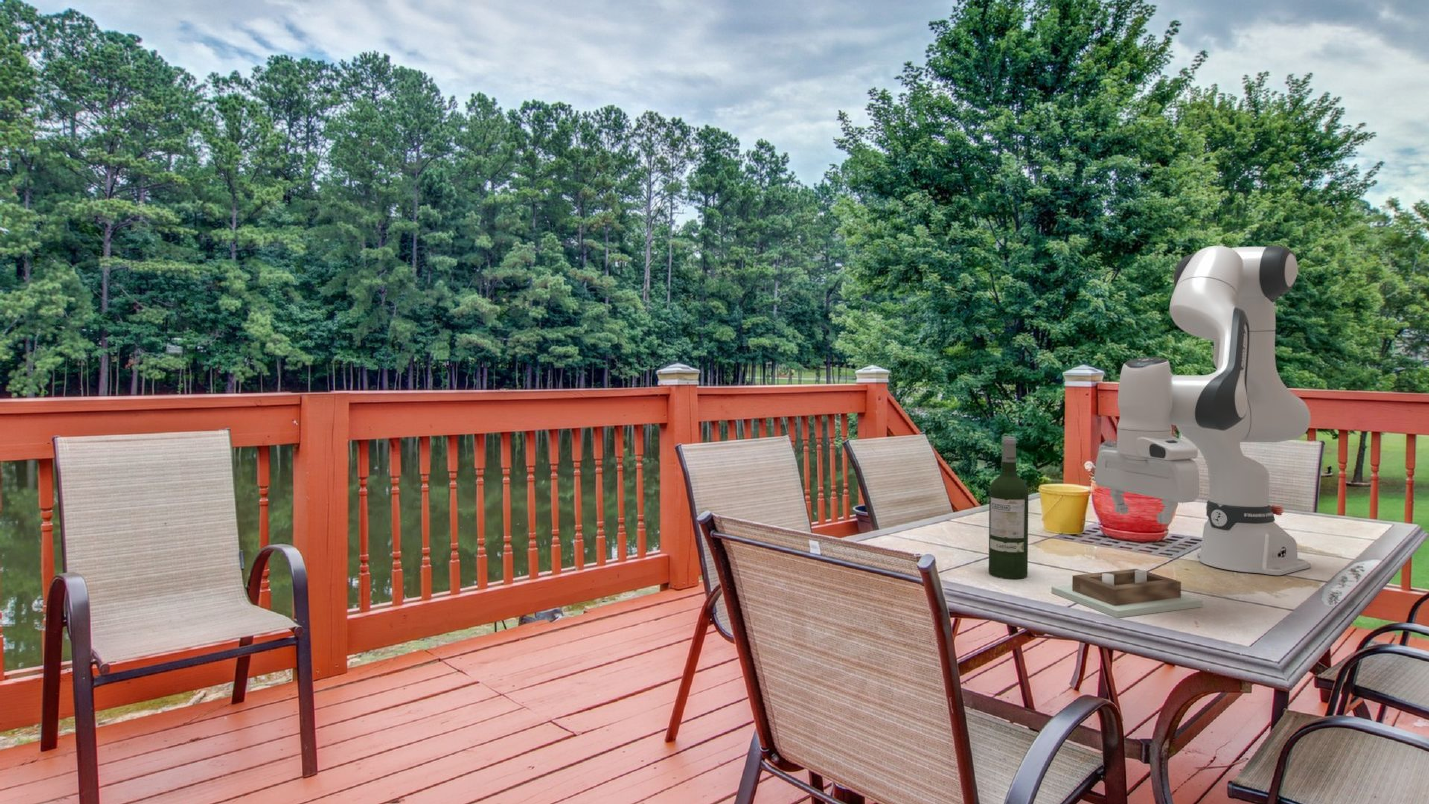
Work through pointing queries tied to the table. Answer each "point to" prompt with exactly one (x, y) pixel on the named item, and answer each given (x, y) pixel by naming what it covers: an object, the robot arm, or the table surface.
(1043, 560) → the table surface
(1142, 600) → the frame
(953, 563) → the table surface
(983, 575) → the table surface
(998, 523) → the wine bottle
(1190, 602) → the board
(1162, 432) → the robot arm
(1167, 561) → the table surface
